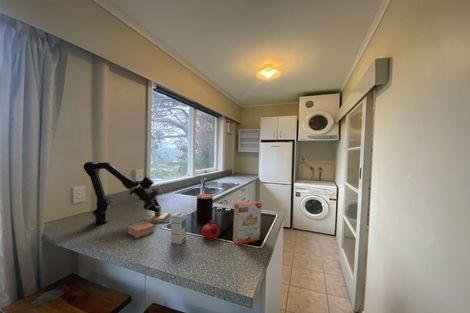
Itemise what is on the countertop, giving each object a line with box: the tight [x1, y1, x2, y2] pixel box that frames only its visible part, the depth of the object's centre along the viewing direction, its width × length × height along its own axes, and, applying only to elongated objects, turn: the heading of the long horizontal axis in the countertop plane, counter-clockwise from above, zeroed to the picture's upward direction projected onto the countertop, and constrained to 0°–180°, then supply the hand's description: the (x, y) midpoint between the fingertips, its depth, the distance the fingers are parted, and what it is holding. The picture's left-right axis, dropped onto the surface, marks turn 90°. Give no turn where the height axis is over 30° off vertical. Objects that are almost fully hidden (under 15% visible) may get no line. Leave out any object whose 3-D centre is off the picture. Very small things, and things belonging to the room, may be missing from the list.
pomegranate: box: [201, 220, 220, 241], centre depth 109 cm, size 10×10×9 cm
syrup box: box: [170, 211, 187, 245], centre depth 103 cm, size 6×6×14 cm
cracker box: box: [232, 200, 262, 246], centre depth 106 cm, size 14×6×21 cm, turn 117°
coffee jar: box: [195, 193, 214, 226], centre depth 131 cm, size 11×11×18 cm
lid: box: [145, 205, 170, 222], centre depth 134 cm, size 11×11×8 cm
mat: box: [143, 213, 172, 225], centre depth 134 cm, size 16×16×1 cm
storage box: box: [127, 220, 155, 239], centre depth 113 cm, size 10×10×4 cm
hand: (159, 209), depth 134 cm, fingers open, 9 cm apart
